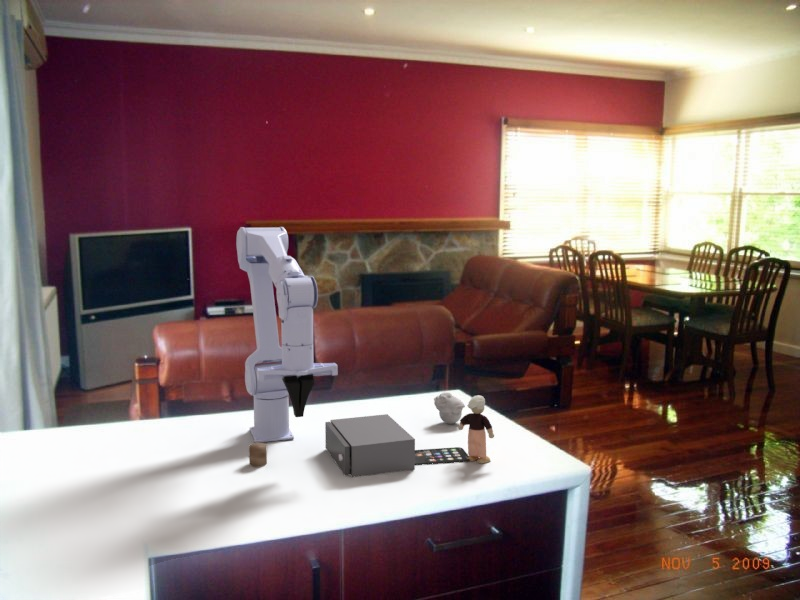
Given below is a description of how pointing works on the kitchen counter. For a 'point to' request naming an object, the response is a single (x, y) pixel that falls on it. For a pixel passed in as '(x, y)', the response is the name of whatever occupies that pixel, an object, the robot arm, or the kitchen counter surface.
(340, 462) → the tray
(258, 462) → the brown domed cylinder
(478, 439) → the grandmother figurine
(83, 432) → the kitchen counter surface
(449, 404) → the grey rounded lumpy piece
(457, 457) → the smartphone
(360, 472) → the housing
